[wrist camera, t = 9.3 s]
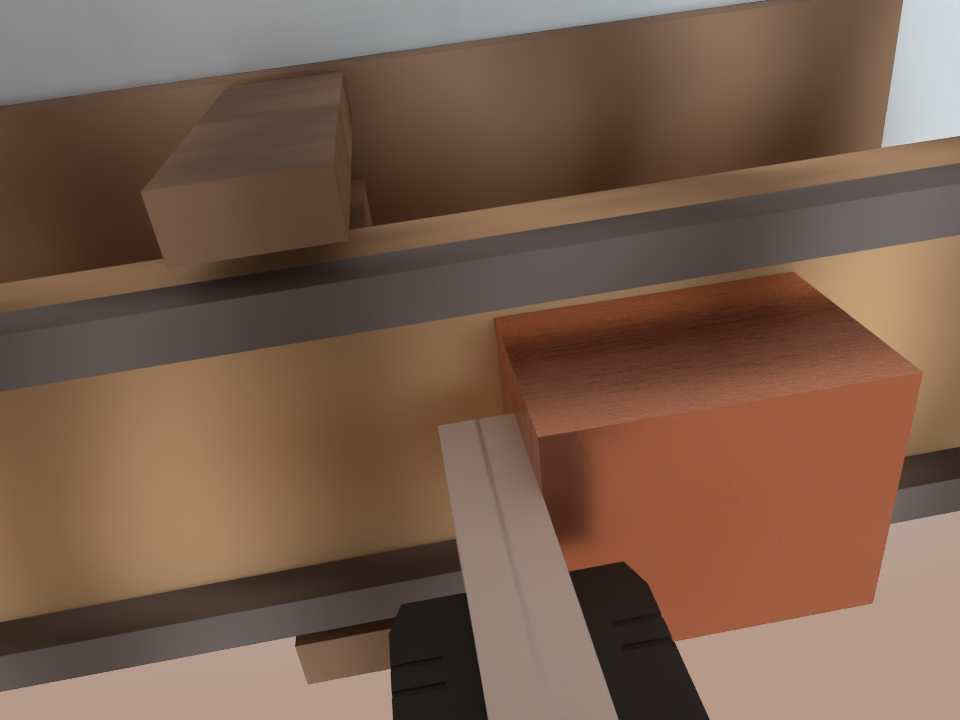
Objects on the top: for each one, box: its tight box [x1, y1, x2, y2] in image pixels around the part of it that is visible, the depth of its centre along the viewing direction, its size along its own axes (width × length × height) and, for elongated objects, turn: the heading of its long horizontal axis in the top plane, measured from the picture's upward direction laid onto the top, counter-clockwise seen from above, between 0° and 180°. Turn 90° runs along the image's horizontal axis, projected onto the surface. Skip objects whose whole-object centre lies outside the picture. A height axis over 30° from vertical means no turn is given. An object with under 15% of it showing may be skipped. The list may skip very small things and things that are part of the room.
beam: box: [0, 136, 960, 692], centre depth 15 cm, size 32×8×4 cm, turn 96°
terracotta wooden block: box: [494, 272, 923, 642], centre depth 15 cm, size 6×5×4 cm
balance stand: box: [0, 0, 903, 684], centre depth 20 cm, size 34×12×10 cm, turn 96°
